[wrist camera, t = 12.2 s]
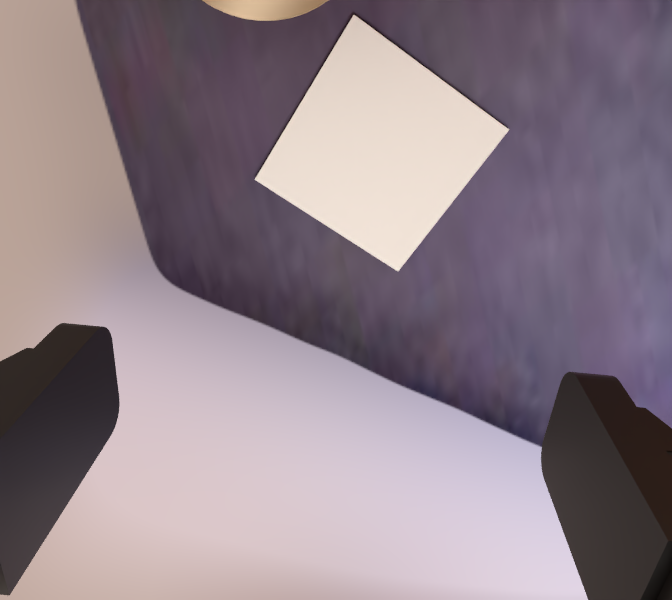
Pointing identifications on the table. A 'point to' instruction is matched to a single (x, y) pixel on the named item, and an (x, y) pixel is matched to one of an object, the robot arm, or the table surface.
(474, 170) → the mat
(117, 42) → the table surface
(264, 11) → the lid
